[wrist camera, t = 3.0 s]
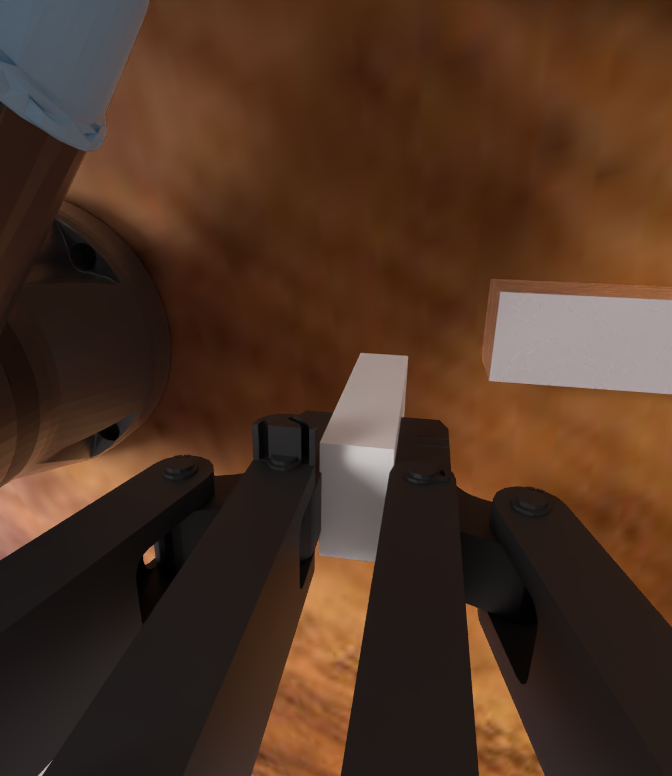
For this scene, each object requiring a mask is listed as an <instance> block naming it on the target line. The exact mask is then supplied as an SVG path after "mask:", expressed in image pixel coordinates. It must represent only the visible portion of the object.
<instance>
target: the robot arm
mask: <svg viewBox="0 0 672 776" xmlns="http://www.w3.org/2000/svg"><path fill="white" fill-rule="evenodd" d="M149 2H150V0H0V487H2V486H3V485H5V484H6V483H8V482H9V481H11V480H13V479H16V478H20V477H24V476H28V475H32V474H36V473H39V472H43V471H47V470H51V469H55V468H59V467H62V466H66V465H70V464H74V463H78V462H82V461H86V460H89V459H91V458H94V457H96V456H99V455H101V454H103V453H105V452H107V451H108V450H110V449H112V448H114V447H115V446H116V445H118V444H119V443H120V442H122V441H123V440H124V439H125V438H127V437H128V436H129V435H130V434H132V433H133V432H134V431H135V430H137V429H138V428H139V427H140V426H141V425H142V424H143V423H144V422H145V421H146V420H147V419H148V418H149V417H150V415H151V414H152V413H153V411H154V410H155V408H156V407H157V405H158V403H159V401H160V399H161V397H162V395H163V392H164V390H165V387H166V383H167V379H168V375H169V369H170V360H171V343H170V333H169V327H168V322H167V318H166V314H165V310H164V307H163V304H162V301H161V299H160V296H159V294H158V291H157V289H156V287H155V285H154V283H153V281H152V279H151V277H150V276H149V274H148V272H147V270H146V269H145V267H144V266H143V264H142V263H141V261H140V260H139V259H138V257H137V256H136V255H135V253H134V252H133V251H132V250H131V249H130V247H129V246H128V245H127V244H126V243H125V242H124V241H123V240H122V239H121V238H120V237H119V236H118V235H117V234H116V233H115V232H114V231H113V230H112V229H111V228H109V227H108V226H107V225H106V224H104V223H103V222H102V221H100V220H99V219H97V218H96V217H95V216H93V215H92V214H90V213H88V212H86V211H85V210H83V209H81V208H79V207H77V206H75V205H73V204H71V203H68V202H66V201H63V200H64V198H65V196H66V194H67V192H68V190H69V187H70V185H71V183H72V181H73V179H74V177H75V175H76V173H77V170H78V168H79V166H80V164H81V162H82V160H83V158H84V156H85V154H86V152H87V151H94V150H98V149H99V148H100V147H101V145H102V143H103V141H104V139H105V137H106V134H107V126H106V116H105V114H106V111H107V109H108V106H109V104H110V101H111V99H112V96H113V94H114V92H115V89H116V87H117V84H118V82H119V79H120V77H121V74H122V72H123V69H124V67H125V64H126V62H127V60H128V57H129V55H130V52H131V50H132V47H133V45H134V42H135V40H136V37H137V35H138V32H139V30H140V28H141V25H142V23H143V20H144V18H145V15H146V13H147V10H148V6H149ZM407 368H408V356H402V355H387V354H371V353H360V355H359V357H358V360H357V362H356V364H355V366H354V368H353V371H352V373H351V375H350V377H349V379H348V382H347V384H346V386H345V388H344V391H343V393H342V395H341V397H340V399H339V402H338V404H337V406H336V408H335V410H334V413H329V412H317V411H306V412H304V413H302V414H300V415H293V414H277V415H270V416H266V417H263V418H260V419H258V420H257V421H255V422H254V423H253V424H252V431H253V457H254V460H253V461H252V463H251V464H250V466H249V467H248V469H247V470H246V472H245V473H243V474H235V475H223V476H214V468H213V464H212V463H211V462H210V461H209V460H207V459H205V458H202V457H198V456H191V455H184V456H182V455H177V456H174V457H172V458H167V459H164V460H162V461H160V462H157V463H155V464H153V465H152V466H150V467H149V468H147V469H145V470H144V471H142V472H141V473H139V474H137V475H136V476H134V477H133V478H131V479H129V480H128V481H126V482H125V483H123V484H121V485H120V486H118V487H117V488H115V489H114V490H112V491H110V492H109V493H107V494H106V495H104V496H102V497H101V498H99V499H98V500H96V501H94V502H93V503H91V504H90V505H88V506H86V507H85V508H83V509H82V510H80V511H78V512H77V513H75V514H74V515H72V516H70V517H69V518H67V519H66V520H64V521H62V522H61V523H59V524H58V525H56V526H55V527H53V528H51V529H50V530H48V531H47V532H45V533H43V534H42V535H40V536H39V537H37V538H35V539H34V540H32V541H31V542H29V543H27V544H26V545H24V546H23V547H21V548H19V549H18V550H16V551H15V552H13V553H11V554H10V555H8V556H7V557H5V558H3V559H2V560H0V776H38V775H39V774H40V773H41V772H42V771H43V770H44V768H45V767H46V766H47V765H48V764H49V763H50V762H51V761H52V762H51V764H50V765H49V766H48V768H47V770H46V771H45V772H44V774H43V775H42V776H251V774H252V771H253V767H254V764H255V761H256V758H257V754H258V751H259V748H260V745H261V741H262V738H263V735H264V732H265V728H266V725H267V722H268V719H269V716H270V712H271V709H272V706H273V703H274V699H275V696H276V693H277V690H278V686H279V683H280V680H281V677H282V674H283V670H284V667H285V664H286V661H287V657H288V654H289V651H290V648H291V644H292V641H293V638H294V635H295V632H296V628H297V625H298V622H299V619H300V615H301V612H302V609H303V606H304V602H305V599H306V596H307V593H308V589H309V586H310V583H311V580H312V577H313V573H314V564H315V548H316V545H317V542H318V539H319V555H321V556H329V557H337V558H345V559H353V560H361V561H369V562H375V565H374V571H373V578H372V584H371V590H370V596H369V603H368V609H367V615H366V621H365V628H364V634H363V640H362V646H361V653H360V659H359V665H358V671H357V678H356V684H355V690H354V696H353V703H352V709H351V715H350V721H349V728H348V734H347V740H346V746H345V753H344V759H343V765H342V771H341V776H479V771H478V758H477V745H476V732H475V719H474V707H473V694H472V681H471V668H470V655H469V642H468V630H467V617H466V604H465V603H467V604H469V605H472V606H475V607H477V608H478V617H479V621H480V624H481V626H482V628H483V631H484V633H485V636H486V638H487V640H488V643H489V645H490V647H491V650H492V652H493V654H494V657H495V659H496V661H497V664H498V666H499V668H500V671H501V673H502V676H503V678H504V680H505V683H506V685H507V687H508V690H509V692H510V694H511V697H512V699H513V701H514V704H515V706H516V708H517V711H518V713H519V716H520V718H521V720H522V723H523V725H524V727H525V730H526V732H527V734H528V737H529V739H530V741H531V744H532V746H533V748H534V751H535V753H536V756H537V758H538V760H539V763H540V765H541V767H542V770H543V772H544V774H545V776H672V627H671V626H670V625H669V624H668V623H667V621H666V620H665V619H664V618H663V617H662V616H661V614H660V613H659V612H658V611H657V610H656V609H655V608H654V606H653V605H652V604H651V603H650V602H649V601H648V599H647V598H646V597H645V596H644V595H643V594H642V592H641V591H640V590H639V589H638V588H637V587H636V585H635V584H634V583H633V582H632V581H631V580H630V579H629V577H628V576H627V575H626V574H625V573H624V572H623V570H622V569H621V568H620V567H619V566H618V565H617V563H616V562H615V561H614V560H613V559H612V558H611V556H610V555H609V554H608V553H607V552H606V551H605V549H604V548H603V547H602V546H601V545H600V544H599V543H598V541H597V540H596V539H595V538H594V537H593V536H592V534H591V533H590V532H589V531H588V530H587V529H586V527H585V526H584V525H583V524H582V523H581V522H580V520H579V519H578V518H577V517H576V516H575V515H574V513H573V512H572V511H571V510H570V509H569V508H568V507H567V505H566V504H565V503H563V502H562V501H561V500H560V499H558V498H557V497H556V496H553V495H551V494H549V493H547V492H545V491H543V490H540V489H535V488H533V487H518V486H516V487H509V488H504V489H502V490H500V491H498V492H497V493H496V494H495V496H494V498H493V502H491V501H487V500H484V499H480V498H478V497H475V496H472V495H470V494H468V493H466V492H464V491H463V490H461V489H460V488H459V487H457V486H456V479H455V477H454V474H453V473H452V472H451V463H450V448H449V434H448V428H447V427H446V426H445V425H444V424H443V423H442V422H441V421H440V420H430V419H418V418H406V417H404V412H405V397H406V383H407ZM152 545H154V549H155V557H156V558H154V559H153V560H152V561H151V562H150V563H148V564H146V565H145V564H144V561H143V554H144V553H145V552H146V551H147V550H148V549H149V548H150V547H151V546H152Z"/></svg>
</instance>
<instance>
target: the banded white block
mask: <svg viewBox="0 0 672 776" xmlns="http://www.w3.org/2000/svg"><path fill="white" fill-rule="evenodd" d="M481 358H482V361H483V364H484V367H485V370H486V373H487V377H488V380H489V381H496V382H510V383H523V384H537V385H551V386H565V387H579V388H592V389H606V390H620V391H634V392H648V393H661V394H672V287H665V286H643V285H621V284H599V283H577V282H555V281H532V280H510V279H491V280H490V288H489V297H488V305H487V313H486V321H485V329H484V338H483V346H482V354H481Z"/></svg>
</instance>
